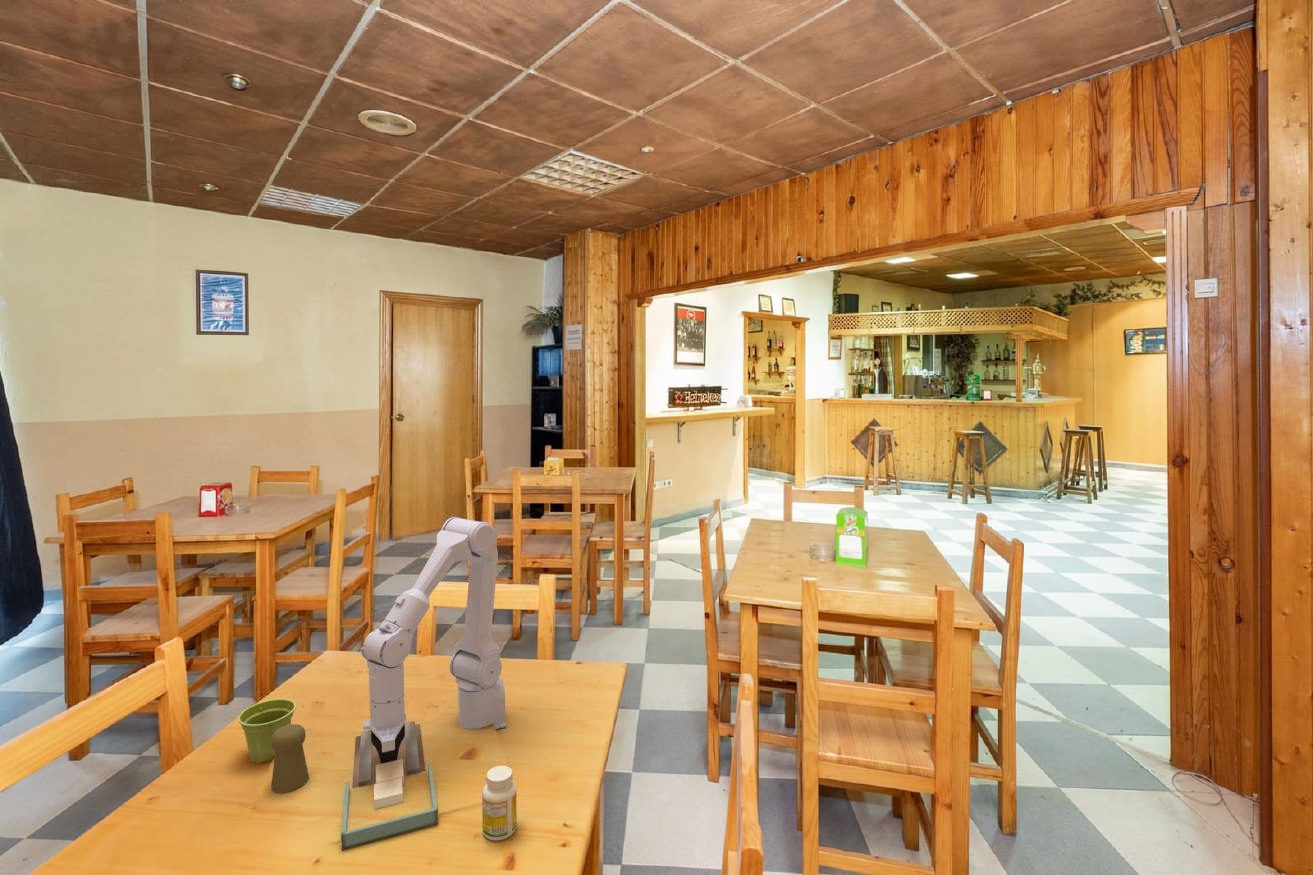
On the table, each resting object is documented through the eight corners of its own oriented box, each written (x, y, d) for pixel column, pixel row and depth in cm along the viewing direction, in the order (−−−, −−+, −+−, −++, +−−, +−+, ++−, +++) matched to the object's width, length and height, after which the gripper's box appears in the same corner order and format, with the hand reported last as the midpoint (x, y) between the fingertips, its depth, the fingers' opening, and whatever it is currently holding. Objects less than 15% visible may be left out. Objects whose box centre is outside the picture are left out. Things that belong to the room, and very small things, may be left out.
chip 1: (402, 769, 111) (402, 758, 111) (403, 786, 107) (403, 775, 107) (376, 775, 110) (375, 765, 109) (376, 793, 106) (376, 782, 105)
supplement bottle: (495, 847, 95) (494, 788, 94) (475, 830, 98) (474, 774, 97) (523, 828, 99) (523, 772, 98) (503, 813, 102) (503, 758, 101)
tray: (431, 776, 111) (431, 763, 111) (438, 824, 99) (437, 809, 99) (345, 796, 106) (345, 782, 105) (341, 850, 94) (341, 835, 93)
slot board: (420, 728, 127) (419, 719, 127) (425, 776, 111) (425, 766, 111) (355, 741, 122) (355, 732, 122) (352, 793, 106) (352, 783, 106)
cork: (292, 801, 104) (289, 740, 103) (261, 796, 105) (259, 736, 104) (318, 779, 110) (315, 721, 109) (289, 775, 111) (286, 717, 110)
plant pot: (308, 747, 120) (306, 705, 119) (260, 774, 111) (258, 729, 111) (277, 735, 124) (276, 694, 123) (228, 761, 115) (226, 717, 115)
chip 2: (401, 789, 107) (401, 777, 107) (403, 805, 103) (402, 793, 103) (374, 796, 105) (373, 784, 105) (374, 812, 101) (373, 800, 101)
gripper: (363, 681, 115) (365, 750, 116) (361, 720, 101) (363, 798, 103) (404, 675, 118) (405, 742, 119) (407, 712, 104) (408, 787, 105)
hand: (389, 767), depth 111 cm, fingers closed
